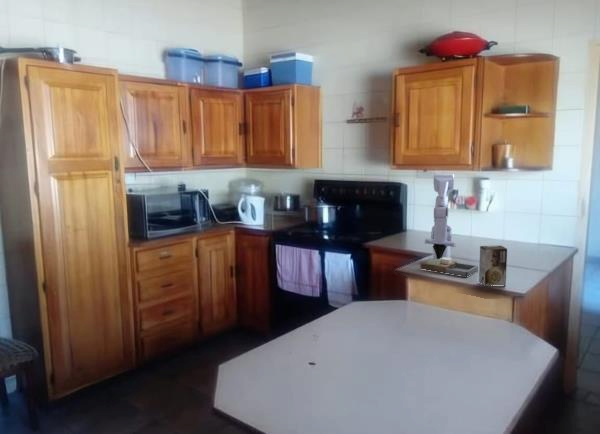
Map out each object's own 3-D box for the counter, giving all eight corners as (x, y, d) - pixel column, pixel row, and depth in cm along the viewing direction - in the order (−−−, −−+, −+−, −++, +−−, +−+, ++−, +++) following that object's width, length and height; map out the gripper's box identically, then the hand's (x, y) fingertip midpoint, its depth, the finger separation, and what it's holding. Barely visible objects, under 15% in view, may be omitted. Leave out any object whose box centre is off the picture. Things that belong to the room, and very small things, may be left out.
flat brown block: (433, 264, 235) (433, 258, 234) (456, 267, 227) (457, 261, 227) (420, 269, 224) (420, 263, 224) (445, 274, 217) (445, 267, 216)
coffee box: (499, 282, 203) (501, 245, 201) (506, 286, 197) (508, 248, 194) (477, 282, 203) (479, 245, 200) (484, 287, 196) (486, 248, 194)
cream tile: (443, 261, 228) (443, 256, 228) (452, 262, 225) (452, 258, 225) (439, 262, 225) (439, 258, 224) (448, 264, 222) (448, 260, 222)
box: (457, 267, 227) (457, 262, 227) (477, 271, 221) (478, 265, 221) (445, 274, 216) (445, 268, 216) (466, 277, 210) (467, 272, 210)
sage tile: (431, 262, 226) (431, 258, 226) (440, 263, 223) (440, 259, 223) (427, 264, 223) (427, 259, 223) (436, 265, 220) (436, 261, 220)
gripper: (422, 231, 227) (421, 259, 229) (451, 234, 217) (450, 263, 219) (428, 229, 232) (427, 256, 234) (457, 232, 223) (456, 260, 225)
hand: (439, 259), depth 227 cm, fingers closed
